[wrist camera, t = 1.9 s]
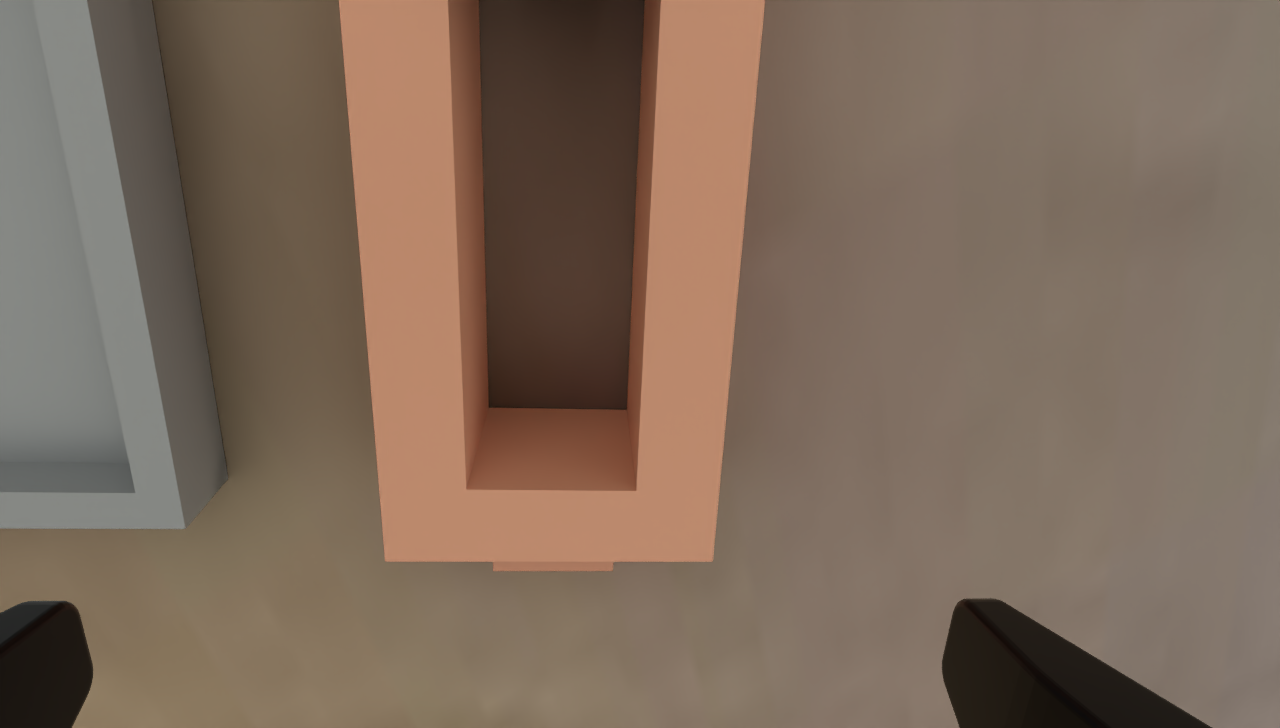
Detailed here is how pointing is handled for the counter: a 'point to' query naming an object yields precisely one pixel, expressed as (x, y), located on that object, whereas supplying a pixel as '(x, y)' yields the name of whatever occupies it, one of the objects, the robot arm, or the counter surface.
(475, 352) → the salmon slotted frame
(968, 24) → the counter surface
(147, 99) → the tray
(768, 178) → the counter surface
